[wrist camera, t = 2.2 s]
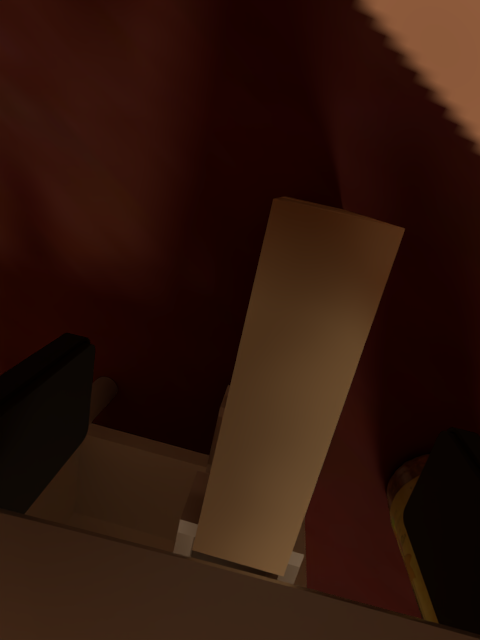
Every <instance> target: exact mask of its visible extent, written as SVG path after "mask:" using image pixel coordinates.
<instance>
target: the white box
mask: <svg viewBox="0 0 480 640" xmlns="http://www.w3.org/2000/svg"><path fill="white" fill-rule="evenodd" d="M117 391H118V389H117V385H116V383H115V382H114V381H113V380H112V379H110V378H108V377H100V378H98V379H97V380H96V381H95V382H93V383H92V393H91V404H90V416H89V427H88V432H87V435H86V437H85V439H84V441H83V442H82V443H81V444H80V446H79V447H78V448H77V449H76V451H75V452H74V453H73V454H72V456H71V457H70V458H69V459H68V461H67V462H66V463H65V464H64V466H63V467H62V468H61V469H60V471H59V472H58V473H57V474H56V476H55V477H54V478H53V479H52V481H51V482H50V483H49V484H48V486H47V487H46V488H45V489H44V490H43V492H42V493H41V494H40V495H39V497H38V498H37V499H36V500H35V502H34V503H33V504H32V505H31V507H30V508H29V509H28V510H27V512H26V513H25V515H29V516H33V517H37V518H41V519H45V520H49V521H53V522H57V523H61V524H65V525H69V526H72V527H76V528H80V529H84V530H88V531H92V532H96V533H100V534H103V535H107V536H111V537H115V538H119V539H123V540H127V541H130V542H134V543H138V544H142V545H146V546H150V547H154V548H158V549H161V550H165V551H169V552H173V551H174V546H175V541H176V537H177V532H178V527H179V522H180V518H181V515H182V513H183V510H184V507H185V504H186V501H187V499H188V496H189V493H190V490H191V487H192V485H193V482H194V479H195V476H196V473H197V471H201V472H204V473H206V468H207V463H208V459H209V455H206V454H203V453H199V452H195V451H192V450H188V449H184V448H181V447H177V446H173V445H170V444H166V443H162V442H159V441H155V440H151V439H148V438H144V437H140V436H137V435H133V434H129V433H126V432H122V431H118V430H115V429H111V428H107V427H104V426H100V425H96V424H93V423H91V422H92V421H93V420H94V419H95V418H96V417H97V416H98V415H99V413H100V412H101V411H102V410H103V409H104V408H105V407H106V406H107V404H108V403H109V402H110V401H111V400H112V399H113V398H114V397H115V396H116V394H117ZM208 474H210V473H208ZM294 585H298V586H301V587H305V588H307V583H306V546H305V516H304V557H303V560H302V563H301V566H300V568H299V571H298V574H297V577H296V579H295V582H294Z"/></svg>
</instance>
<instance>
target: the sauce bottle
mask: <svg viewBox="0 0 480 640" xmlns="http://www.w3.org/2000/svg"><path fill="white" fill-rule="evenodd" d="M429 455H430V454H426V455H421V456H419V457H415V458H413V459H411V460H410V461H406V462H405V463H404V464H403V465H402V466H401V467H399V468H398V469H397V470H396V471H395V473H394V475H393V476H392V477H391V479H390V481H389V483H388V486H387V498H388V508H389V511H390V520H391V525H392V528H393V531H394V534H395V536H396V539H397V542H398V545H399V548H400V551H401V554H402V557H403V560H404V563H405V566H406V569H407V572H408V575H409V578H410V581H411V584H412V587H413V591H414V594H415V597H416V601H417V604H418V606H419V610H420V612H421V616H422V618H423V619H424V620H427V621H431V622H435V623H438V620H437V617H436V614H435V612H434V609H433V606H432V603H431V600H430V597H429V594H428V591H427V589H426V586H425V583H424V580H423V577H422V574H421V571H420V569H419V566H418V563H417V560H416V557H415V554H414V551H413V548H412V546H411V543H410V540H409V537H408V534H407V531H406V528H405V526H404V522H403V512H404V508H405V506H406V504H407V502H408V500H409V497H410V495H411V493H412V491H413V489H414V487H415V485H416V482H417V480H418V478H419V476H420V474H421V472H422V470H423V468H424V465H425V463H426V461H427V459H428V457H429ZM438 624H439V623H438Z"/></svg>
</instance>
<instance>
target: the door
mask: <svg viewBox="0 0 480 640" xmlns="http://www.w3.org/2000/svg"><path fill="white" fill-rule="evenodd" d="M404 231H405V228H402V227H398V226H395V225H392V224H389V223H386V222H382V221H379V220H376V219H373V218H369V217H366V216H363V215H360V214H357V213H353V212H350V211H347V210H344V209H340V208H335V207H331V206H326V205H322V204H318V203H313V202H309V201H304V200H300V199H295V198H291V197H287V196H285V197H280V198H274V199H273V202H272V206H271V211H270V215H269V219H268V224H267V228H266V232H265V237H264V241H263V245H262V250H261V254H260V258H259V263H258V267H257V271H256V276H255V280H254V284H253V289H252V293H251V297H250V302H249V306H248V310H247V315H246V319H245V323H244V328H243V332H242V336H241V341H240V345H239V349H238V354H237V358H236V362H235V367H234V371H233V375H232V380H231V384H230V385H228V386H227V389H226V392H225V395H224V398H223V400H222V403H221V406H220V410H219V414H218V419H217V423H216V428H215V432H214V437H213V441H212V446H211V450H210V454H209V459H208V463H207V468H206V473H204V472H201V471H197V473H196V476H195V479H194V482H193V485H192V487H191V490H190V493H189V496H188V499H187V501H186V504H185V507H184V510H183V513H182V515H181V518H180V522H179V527H178V532H177V537H176V541H175V546H174V551H173V553H177V554H181V555H185V556H188V557H192V558H196V559H200V560H203V561H207V562H211V563H215V564H219V565H222V566H226V567H230V568H234V569H237V570H241V571H245V572H249V573H253V574H256V575H260V576H264V577H268V578H271V579H275V580H279V581H283V582H286V583H290V584H294V582H295V579H296V577H297V574H298V571H299V568H300V566H301V563H302V560H303V557H304V516H305V514H306V511H307V508H308V505H309V502H310V499H311V496H312V494H313V491H314V488H315V485H316V482H317V479H318V476H319V474H320V471H321V468H322V465H323V462H324V459H325V456H326V454H327V451H328V448H329V445H330V442H331V439H332V436H333V434H334V431H335V428H336V425H337V422H338V419H339V416H340V414H341V411H342V408H343V405H344V402H345V399H346V396H347V394H348V391H349V388H350V385H351V382H352V379H353V376H354V374H355V371H356V368H357V365H358V362H359V359H360V356H361V354H362V351H363V348H364V345H365V342H366V339H367V336H368V334H369V331H370V328H371V325H372V322H373V319H374V316H375V314H376V311H377V308H378V305H379V302H380V299H381V297H382V294H383V291H384V288H385V285H386V282H387V279H388V277H389V274H390V271H391V268H392V265H393V262H394V259H395V257H396V254H397V251H398V248H399V245H400V242H401V239H402V237H403V234H404ZM208 473H210V474H208Z"/></svg>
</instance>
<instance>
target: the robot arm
mask: <svg viewBox="0 0 480 640" xmlns="http://www.w3.org/2000/svg"><path fill="white" fill-rule="evenodd" d="M94 359H95V346H94V345H93V344H90V340H89V339H88V338H86V337H82V336H78V335H74V334H70V333H65V334H63V335H62V336H60V337H59V338H57V339H56V340H54V341H53V342H51V343H49V344H48V345H46V346H45V347H43V348H42V349H40V350H39V351H37V352H36V353H34V354H33V355H31V356H30V357H28V358H27V359H25V360H23V361H22V362H20V363H19V364H17V365H16V366H14V367H13V368H11V369H10V370H8V371H7V372H5V373H4V374H2V375H1V376H0V640H480V437H479V435H477V434H476V433H473V432H469V431H465V430H461V429H457V428H453V427H452V428H449V429H448V430H447V431H442V432H441V433H440V434H439V436H438V438H437V440H436V442H435V444H434V446H433V448H432V450H431V453H430V455H429V457H428V459H427V461H426V463H425V465H424V468H423V470H422V472H421V474H420V476H419V478H418V480H417V482H416V485H415V487H414V489H413V491H412V493H411V495H410V497H409V500H408V502H407V504H406V506H405V508H404V512H403V522H404V526H405V528H406V531H407V534H408V537H409V540H410V543H411V546H412V548H413V551H414V554H415V557H416V560H417V563H418V566H419V569H420V571H421V574H422V577H423V580H424V583H425V586H426V589H427V591H428V594H429V597H430V600H431V603H432V606H433V609H434V612H435V614H436V617H437V620H438V623H439V624H438V623H435V622H431V621H427V620H424V619H420V618H416V617H413V616H409V615H405V614H402V613H398V612H394V611H390V610H387V609H383V608H379V607H376V606H372V605H368V604H365V603H361V602H357V601H354V600H350V599H346V598H343V597H339V596H335V595H331V594H328V593H324V592H320V591H316V590H313V589H309V588H305V587H301V586H298V585H294V584H290V583H286V582H283V581H279V580H275V579H271V578H268V577H264V576H260V575H256V574H253V573H249V572H245V571H241V570H237V569H234V568H230V567H226V566H222V565H219V564H215V563H211V562H207V561H203V560H200V559H196V558H192V557H188V556H185V555H181V554H177V553H173V552H169V551H165V550H161V549H158V548H154V547H150V546H146V545H142V544H138V543H134V542H130V541H127V540H123V539H119V538H115V537H111V536H107V535H103V534H100V533H96V532H92V531H88V530H84V529H80V528H76V527H72V526H69V525H65V524H61V523H57V522H53V521H49V520H45V519H41V518H37V517H33V516H29V515H25V513H26V512H27V510H28V509H29V508H30V507H31V505H32V504H33V503H34V502H35V500H36V499H37V498H38V497H39V495H40V494H41V493H42V492H43V490H44V489H45V488H46V487H47V486H48V484H49V483H50V482H51V481H52V479H53V478H54V477H55V476H56V474H57V473H58V472H59V471H60V469H61V468H62V467H63V466H64V464H65V463H66V462H67V461H68V459H69V458H70V457H71V456H72V454H73V453H74V452H75V451H76V449H77V448H78V447H79V446H80V444H81V443H82V442H83V441H84V439H85V437H86V435H87V432H88V427H89V416H90V404H91V393H92V382H93V370H94Z"/></svg>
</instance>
